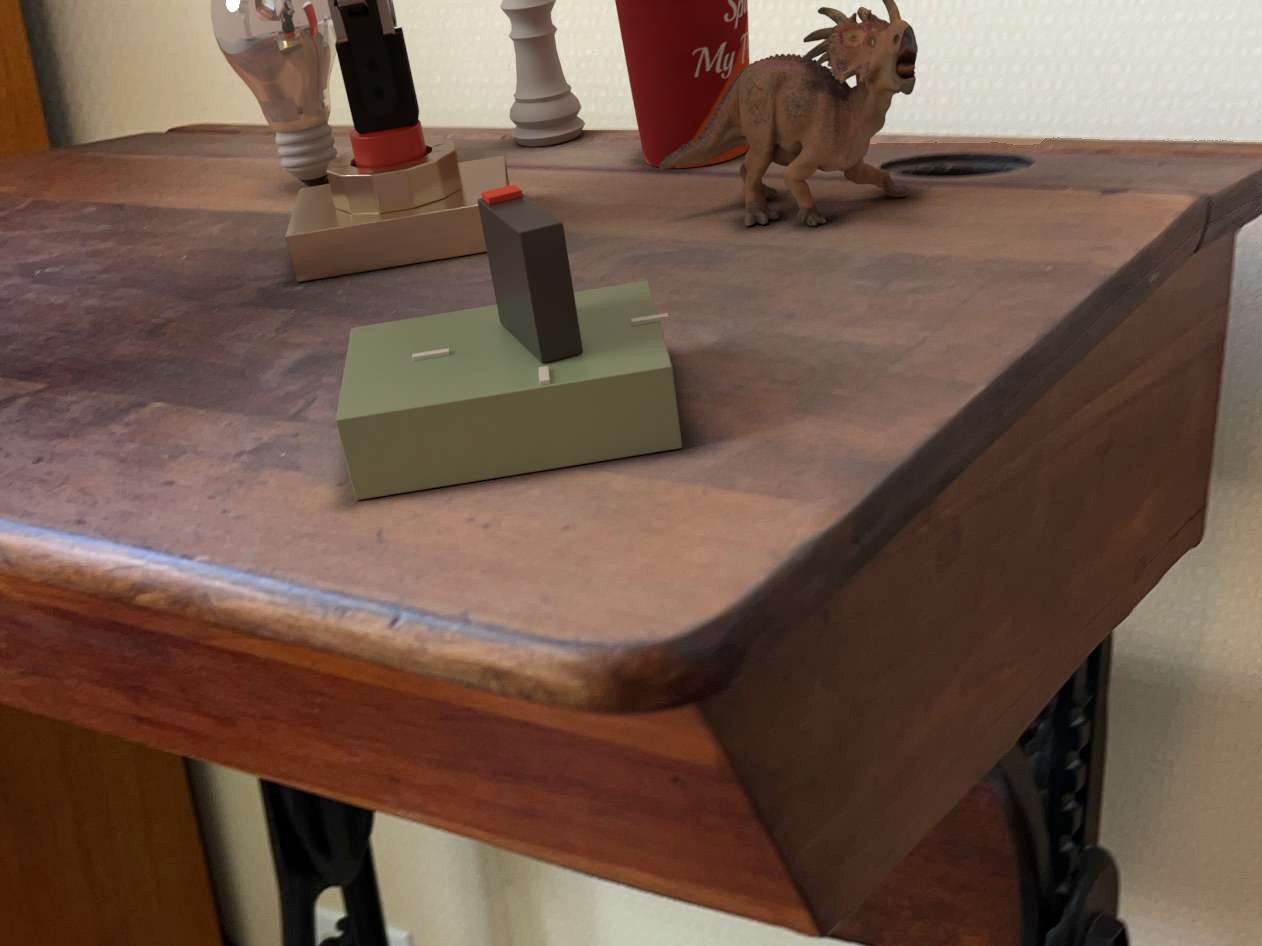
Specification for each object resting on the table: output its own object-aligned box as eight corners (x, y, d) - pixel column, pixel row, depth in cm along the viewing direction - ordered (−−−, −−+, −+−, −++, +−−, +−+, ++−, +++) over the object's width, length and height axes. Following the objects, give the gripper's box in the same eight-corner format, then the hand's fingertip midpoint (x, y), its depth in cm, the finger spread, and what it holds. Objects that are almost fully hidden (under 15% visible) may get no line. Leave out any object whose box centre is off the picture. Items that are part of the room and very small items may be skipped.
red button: (355, 179, 81) (347, 141, 80) (359, 162, 84) (351, 124, 83) (427, 168, 81) (419, 129, 80) (429, 150, 84) (421, 113, 83)
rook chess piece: (572, 122, 100) (550, -29, 95) (596, 135, 97) (574, -21, 92) (503, 138, 99) (477, -14, 94) (524, 152, 96) (498, -5, 91)
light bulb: (392, 177, 95) (340, -65, 88) (282, 209, 93) (218, -37, 85) (346, 159, 100) (292, -71, 92) (240, 189, 98) (176, -45, 90)
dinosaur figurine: (963, 191, 79) (961, -31, 73) (920, 230, 75) (915, -1, 69) (710, 189, 85) (689, -17, 79) (658, 225, 81) (632, 12, 75)
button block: (297, 282, 82) (274, 196, 79) (310, 231, 88) (290, 151, 86) (515, 247, 81) (500, 160, 79) (512, 199, 88) (498, 117, 86)
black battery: (583, 353, 60) (561, 214, 56) (542, 364, 59) (518, 225, 56) (539, 313, 64) (516, 182, 61) (499, 323, 63) (475, 191, 60)
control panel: (355, 500, 60) (333, 415, 58) (368, 401, 67) (349, 323, 65) (691, 447, 59) (681, 359, 57) (666, 354, 67) (656, 274, 65)
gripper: (362, -359, 64) (462, 150, 76) (378, -361, 75) (463, 82, 87) (173, -326, 64) (302, 178, 76) (218, -333, 76) (324, 105, 87)
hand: (388, 125), depth 82 cm, fingers closed
